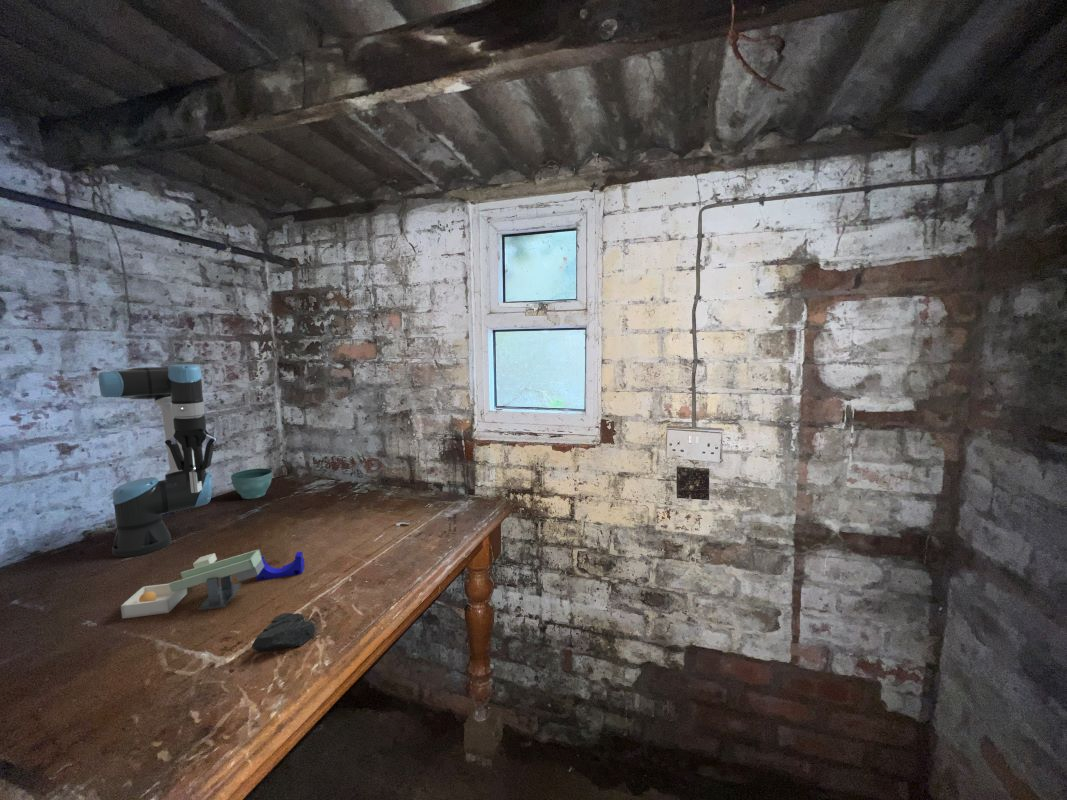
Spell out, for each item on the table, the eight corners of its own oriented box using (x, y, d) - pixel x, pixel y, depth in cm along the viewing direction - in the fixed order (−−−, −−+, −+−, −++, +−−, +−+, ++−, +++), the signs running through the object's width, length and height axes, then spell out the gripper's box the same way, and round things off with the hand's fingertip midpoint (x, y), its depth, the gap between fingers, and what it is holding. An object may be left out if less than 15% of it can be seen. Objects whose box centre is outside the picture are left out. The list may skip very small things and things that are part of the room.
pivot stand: (198, 610, 114) (195, 583, 113) (218, 587, 124) (215, 563, 123) (224, 607, 115) (222, 580, 114) (241, 585, 126) (239, 560, 125)
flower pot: (281, 493, 202) (279, 471, 201) (243, 504, 189) (241, 480, 187) (263, 487, 211) (261, 466, 209) (226, 497, 197) (223, 474, 196)
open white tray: (122, 618, 110) (120, 606, 110) (144, 598, 119) (143, 586, 119) (168, 612, 113) (167, 600, 112) (187, 593, 122) (186, 581, 121)
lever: (175, 601, 114) (168, 584, 113) (202, 574, 128) (196, 558, 127) (257, 576, 118) (250, 559, 117) (274, 552, 132) (268, 537, 131)
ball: (154, 602, 114) (143, 611, 114) (162, 594, 118) (151, 603, 117) (144, 593, 113) (132, 602, 113) (152, 586, 117) (140, 594, 116)
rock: (319, 632, 107) (283, 620, 108) (320, 615, 105) (283, 603, 105) (290, 671, 97) (250, 657, 98) (290, 653, 95) (249, 639, 96)
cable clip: (304, 567, 136) (303, 549, 135) (301, 574, 132) (300, 555, 131) (261, 573, 132) (259, 555, 132) (256, 581, 128) (255, 562, 127)
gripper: (155, 419, 124) (164, 497, 127) (208, 418, 127) (215, 494, 131) (170, 414, 131) (178, 488, 135) (220, 413, 134) (226, 485, 138)
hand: (196, 491), depth 133 cm, fingers closed
